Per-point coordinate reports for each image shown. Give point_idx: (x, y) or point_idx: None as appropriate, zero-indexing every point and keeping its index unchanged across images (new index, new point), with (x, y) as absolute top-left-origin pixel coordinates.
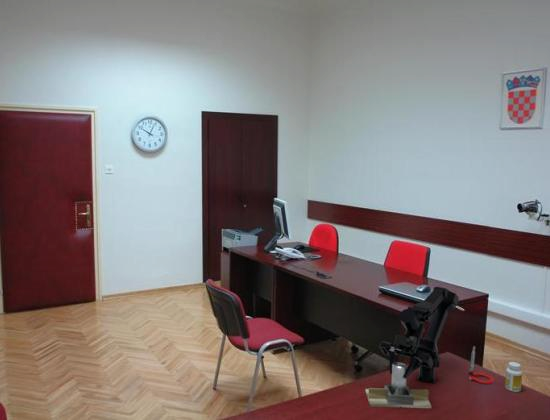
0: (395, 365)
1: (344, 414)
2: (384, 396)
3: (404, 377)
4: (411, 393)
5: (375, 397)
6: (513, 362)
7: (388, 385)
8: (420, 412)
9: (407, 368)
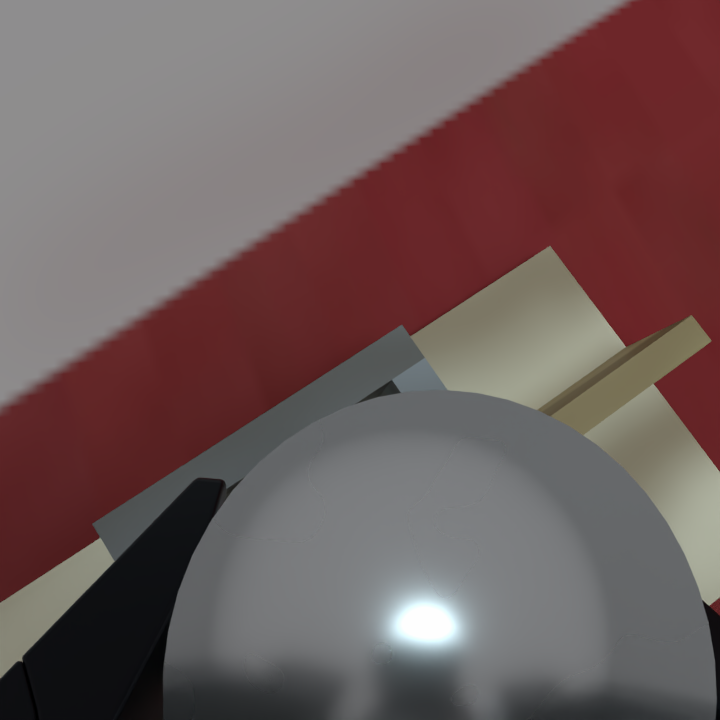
0: (555, 538)
1: (650, 5)
2: None
3: (208, 481)
4: None
5: (572, 387)
6: None
7: None
8: (27, 467)
9: (124, 659)
